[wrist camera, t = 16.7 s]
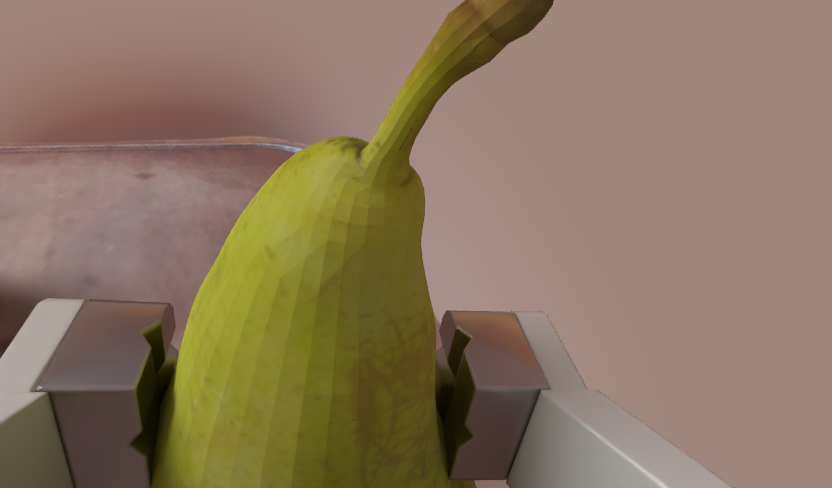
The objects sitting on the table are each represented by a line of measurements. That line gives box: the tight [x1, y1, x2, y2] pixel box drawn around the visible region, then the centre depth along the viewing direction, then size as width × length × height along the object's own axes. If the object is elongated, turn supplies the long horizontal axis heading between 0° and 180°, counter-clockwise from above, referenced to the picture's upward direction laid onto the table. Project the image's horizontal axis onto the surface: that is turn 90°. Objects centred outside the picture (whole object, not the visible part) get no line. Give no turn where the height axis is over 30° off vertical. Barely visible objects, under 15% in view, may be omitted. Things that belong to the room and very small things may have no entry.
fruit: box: [151, 0, 554, 488], centre depth 8 cm, size 6×6×12 cm
